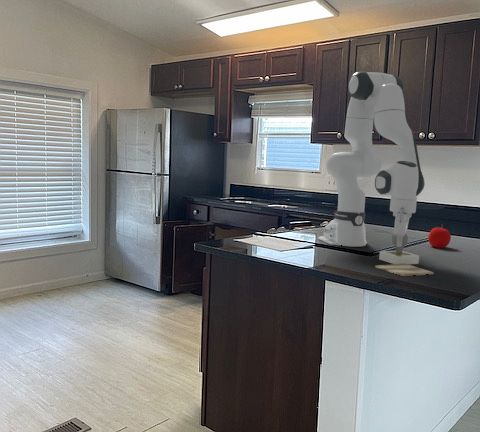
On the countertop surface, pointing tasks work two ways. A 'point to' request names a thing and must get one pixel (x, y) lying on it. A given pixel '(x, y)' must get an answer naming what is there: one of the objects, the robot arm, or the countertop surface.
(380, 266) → the board
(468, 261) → the countertop surface
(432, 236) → the fruit
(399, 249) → the light bulb
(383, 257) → the socket
